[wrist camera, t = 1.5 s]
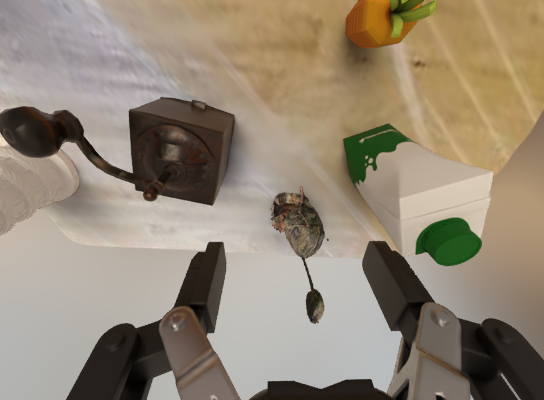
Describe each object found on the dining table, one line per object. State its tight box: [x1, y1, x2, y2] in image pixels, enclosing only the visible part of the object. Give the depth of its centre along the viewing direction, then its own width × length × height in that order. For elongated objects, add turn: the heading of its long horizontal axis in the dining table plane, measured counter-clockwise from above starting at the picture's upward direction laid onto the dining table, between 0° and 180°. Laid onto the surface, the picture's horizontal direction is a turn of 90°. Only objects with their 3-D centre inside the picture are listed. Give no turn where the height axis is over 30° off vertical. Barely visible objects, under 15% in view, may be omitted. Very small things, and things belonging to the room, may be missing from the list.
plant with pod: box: [271, 186, 329, 324], centre depth 33 cm, size 8×11×20 cm
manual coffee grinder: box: [0, 97, 234, 206], centre depth 26 cm, size 16×11×18 cm
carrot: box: [346, 0, 437, 48], centre depth 20 cm, size 5×5×15 cm
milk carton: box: [343, 124, 494, 266], centre depth 27 cm, size 9×9×20 cm
